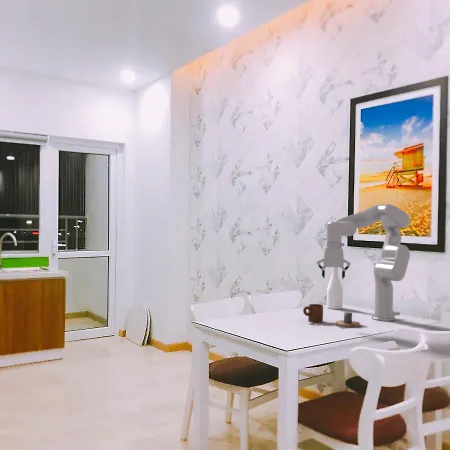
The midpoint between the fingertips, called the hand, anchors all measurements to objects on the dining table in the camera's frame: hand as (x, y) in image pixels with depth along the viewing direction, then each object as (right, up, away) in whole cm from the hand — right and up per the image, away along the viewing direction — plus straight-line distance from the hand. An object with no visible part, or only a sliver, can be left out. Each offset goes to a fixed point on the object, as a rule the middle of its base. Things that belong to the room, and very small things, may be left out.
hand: (333, 278), depth 259 cm
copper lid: (+7, -24, -3) cm, 25 cm away
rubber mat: (+7, -24, -3) cm, 26 cm away
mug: (-10, -24, +4) cm, 27 cm away
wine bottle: (+12, -24, +52) cm, 59 cm away
